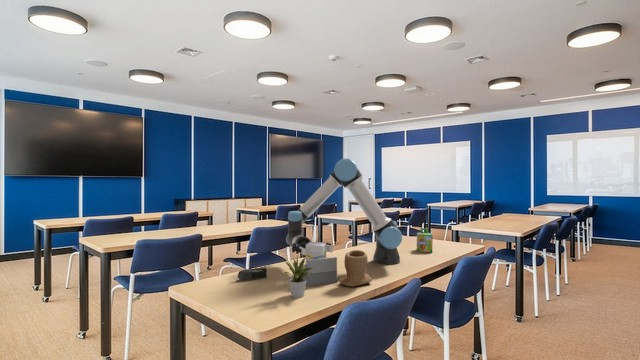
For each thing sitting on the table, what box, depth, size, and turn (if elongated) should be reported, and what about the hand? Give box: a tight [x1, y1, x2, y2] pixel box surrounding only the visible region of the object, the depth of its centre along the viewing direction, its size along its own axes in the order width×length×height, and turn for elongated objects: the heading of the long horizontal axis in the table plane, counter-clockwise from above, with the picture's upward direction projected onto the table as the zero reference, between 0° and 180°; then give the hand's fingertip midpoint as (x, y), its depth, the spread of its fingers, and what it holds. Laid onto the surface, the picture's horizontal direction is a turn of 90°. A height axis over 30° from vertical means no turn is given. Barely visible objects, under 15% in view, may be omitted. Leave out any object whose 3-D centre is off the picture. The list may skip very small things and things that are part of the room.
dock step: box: [301, 256, 338, 287], centre depth 162 cm, size 14×16×11 cm
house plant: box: [282, 255, 315, 299], centre depth 138 cm, size 14×14×16 cm
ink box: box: [305, 241, 327, 268], centre depth 162 cm, size 8×8×12 cm
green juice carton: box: [416, 227, 434, 254], centre depth 225 cm, size 9×9×15 cm
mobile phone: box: [235, 267, 268, 283], centre depth 163 cm, size 5×3×15 cm
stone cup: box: [338, 249, 373, 287], centre depth 154 cm, size 15×12×15 cm
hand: (318, 250), depth 159 cm, fingers open, 13 cm apart
